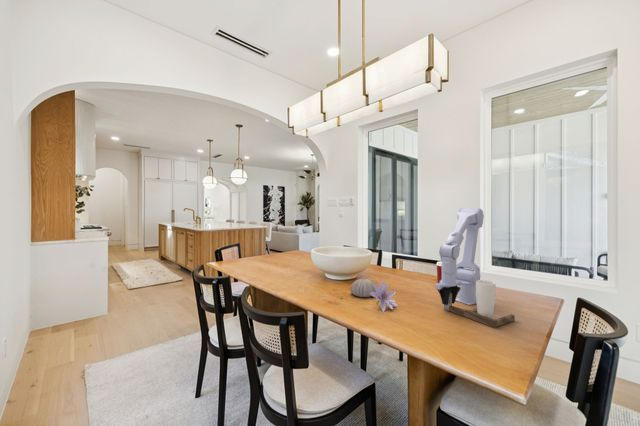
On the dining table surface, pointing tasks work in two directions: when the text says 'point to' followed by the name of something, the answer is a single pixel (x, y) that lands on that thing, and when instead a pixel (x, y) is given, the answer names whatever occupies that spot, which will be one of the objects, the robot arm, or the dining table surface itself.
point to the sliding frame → (478, 315)
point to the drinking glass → (485, 297)
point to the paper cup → (439, 271)
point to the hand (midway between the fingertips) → (448, 303)
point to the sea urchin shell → (362, 288)
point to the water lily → (384, 296)
